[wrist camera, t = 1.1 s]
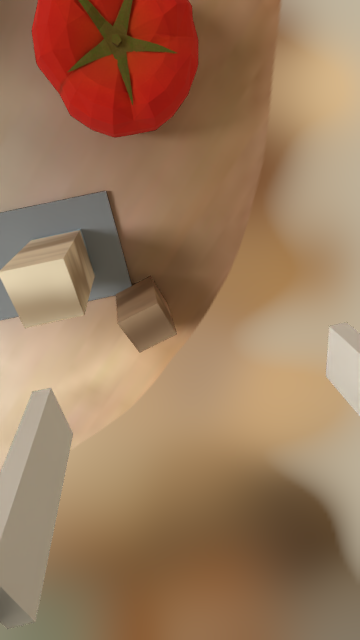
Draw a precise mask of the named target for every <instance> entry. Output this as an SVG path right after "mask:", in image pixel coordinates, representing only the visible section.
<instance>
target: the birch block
mask: <svg viewBox="0 0 360 640" xmlns="http://www.w3.org/2000/svg"><path fill="white" fill-rule="evenodd" d="M94 277H95V271H94V268H93V265H92V262H91V259H90V256H89V253H88V250H87V247H86V244H85V241H84V237H83V234H82V231H81V229H77V230H72V231H68V232H63V233H58V234H53V235H49V236H44V237H39V238H34V239H32V240H31V241H30V242H29V243H28V244H27V245H26V246H25V247H24V248H23V249H22V250H20V251H19V252H18V253H17V254H16V255H15V256H14V257H13V258H12V259H11V260H10V261H9V262H8V263H7V264H6V265H5V266H4V267H3V268H2V269H1V270H0V278H1V280H2V282H3V285H4V287H5V289H6V291H7V293H8V295H9V297H10V299H11V301H12V303H13V305H14V307H15V309H16V311H17V313H18V315H19V317H20V320H21V322H22V324H23V326H24V328H29V327H34V326H38V325H43V324H47V323H52V322H56V321H61V320H65V319H70V318H75V317H79V316H84V314H85V311H86V307H87V303H88V299H89V296H90V292H91V288H92V284H93V281H94Z"/></svg>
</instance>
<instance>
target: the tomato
mask: <svg viewBox="0 0 360 640" xmlns="http://www.w3.org/2000/svg"><path fill="white" fill-rule="evenodd" d="M32 36H33V43H34V50H35V57H36V63H37V65H38V67H39V68H40V70H41V71H42V72H43V74H44V75H45V76H46V77H47V79H48V80H49V81H50V82H51V84H52V85H53V86H54V88H55V89H56V90H57V91H58V93H59V94H60V96H61V98H62V100H63V102H64V104H65V106H66V108H67V110H68V112H69V114H70V115H71V116H72V117H74V118H75V119H77V120H78V121H80V122H81V123H83V124H84V125H86V126H87V127H89V128H90V129H92V130H94V131H97V132H100V133H103V134H106V135H109V136H112V137H121V136H127V135H133V134H139V133H144V132H149V131H154V130H156V129H158V128H159V127H160V126H161V125H162V124H164V123H165V122H166V121H167V120H169V119H170V118H171V117H172V116H173V115H174V114H175V112H176V111H177V110H178V108H179V107H180V105H181V104H182V102H183V101H184V100H185V98H186V97H187V95H188V93H189V90H190V87H191V85H192V82H193V79H194V76H195V74H196V71H197V68H198V37H197V33H196V30H195V26H194V22H193V16H192V5H191V4H190V2H189V1H188V0H38V3H37V8H36V13H35V17H34V22H33V27H32Z"/></svg>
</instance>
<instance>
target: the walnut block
mask: <svg viewBox="0 0 360 640" xmlns="http://www.w3.org/2000/svg"><path fill="white" fill-rule="evenodd" d="M116 302H117V323H118V325H119V326H120V327H121V329H122V330H123V331H124V333H125V334H126V335H127V337H128V338H129V339H130V341H131V342H132V343H133V344H134V346H135V347H136V348H137V350H138V351H139V352H142V351H144V350H146V349H148V348H150V347H152V346H154V345H156V344H158V343H160V342H162V341H164V340H166V339H168V338H170V337H172V336H174V335H176V334H177V333H176V329H175V326H174V323H173V319H172V316H171V313H170V309H169V306H168V304H167V302H166V301H165V299H164V297H163V296H162V294H161V292H160V291H159V289H158V287H157V286H156V284H155V282H154V281H153V279H152V277H151V276H150V277H148V278H146V279H144V280H142V281H140V282H138V283H136V284H134V285H133V286H131V287H129V288H127V289H125V290H123V291H121V292H119V293H117V294H116Z"/></svg>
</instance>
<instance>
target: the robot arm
mask: <svg viewBox="0 0 360 640" xmlns="http://www.w3.org/2000/svg"><path fill="white" fill-rule="evenodd" d="M326 377H327V378H328V379H329V380H330V382H331V383H332V384H333V385H334V386H335V387H336V389H337V390H338V391H339V392H340V393H341V395H342V396H343V397H344V398H345V399H346V400H347V402H348V403H349V404H350V405H351V406H352V407H353V409H354V410H355V411H356V412H357V413H358V415H359V416H360V333H359V332H358V331H357V330H356V329H354V328H353V327H352V326H351V325H349V324H348V323H347V322H344V323H340V324H336V325H331V326H329V336H328V351H327V368H326ZM72 436H73V432H72V430H71V428H70V426H69V424H68V422H67V420H66V418H65V416H64V414H63V412H62V410H61V408H60V406H59V404H58V401H57V399H56V397H55V395H54V393H53V391H52V389H51V388H47V389H43V390H38V391H34V392H32V394H31V396H30V399H29V401H28V404H27V406H26V409H25V411H24V414H23V416H22V419H21V421H20V424H19V427H18V429H17V432H16V434H15V437H14V439H13V442H12V444H11V447H10V449H9V452H8V454H7V457H6V459H5V462H4V464H3V467H2V469H1V472H0V623H1V624H2V625H4V626H5V627H6V628H7V629H9V628H14V627H18V626H22V625H26V624H30V623H34V622H35V621H36V616H37V611H38V606H39V601H40V596H41V591H42V586H43V581H44V576H45V571H46V566H47V561H48V556H49V551H50V546H51V541H52V536H53V531H54V526H55V521H56V516H57V511H58V506H59V501H60V496H61V491H62V486H63V481H64V476H65V471H66V466H67V461H68V456H69V451H70V446H71V441H72Z"/></svg>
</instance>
